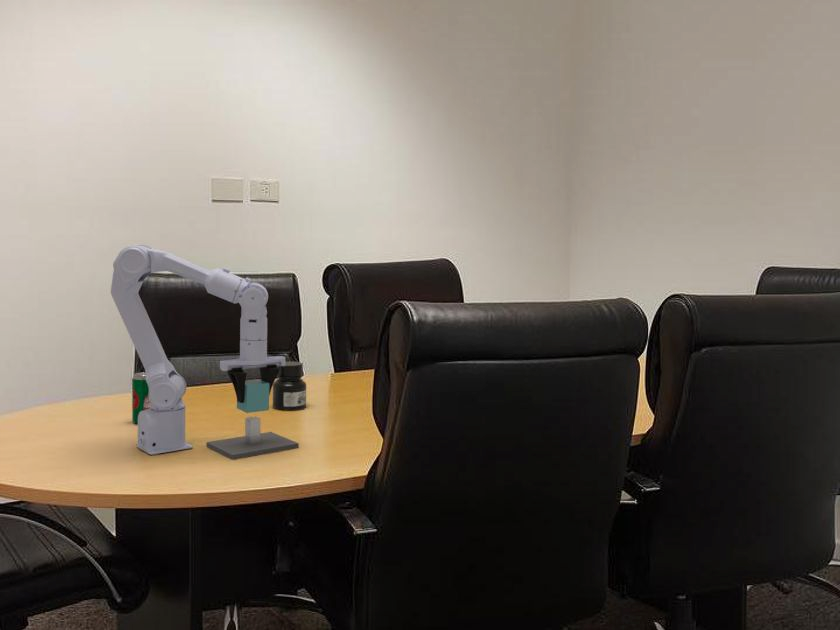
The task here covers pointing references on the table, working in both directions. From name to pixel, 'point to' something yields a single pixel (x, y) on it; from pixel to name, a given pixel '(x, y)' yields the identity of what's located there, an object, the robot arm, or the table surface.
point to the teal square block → (255, 396)
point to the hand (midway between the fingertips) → (253, 400)
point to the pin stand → (252, 442)
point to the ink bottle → (289, 387)
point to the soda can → (139, 395)
